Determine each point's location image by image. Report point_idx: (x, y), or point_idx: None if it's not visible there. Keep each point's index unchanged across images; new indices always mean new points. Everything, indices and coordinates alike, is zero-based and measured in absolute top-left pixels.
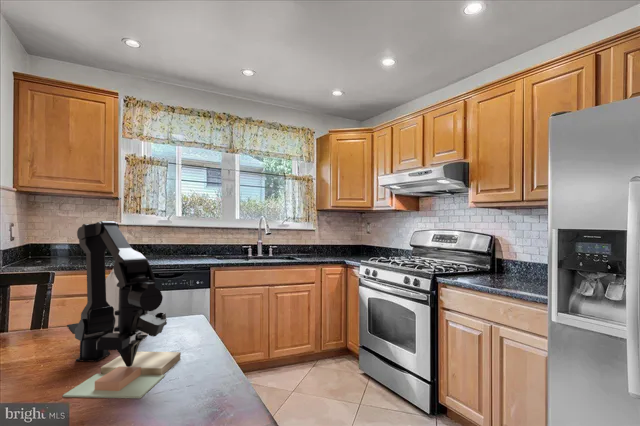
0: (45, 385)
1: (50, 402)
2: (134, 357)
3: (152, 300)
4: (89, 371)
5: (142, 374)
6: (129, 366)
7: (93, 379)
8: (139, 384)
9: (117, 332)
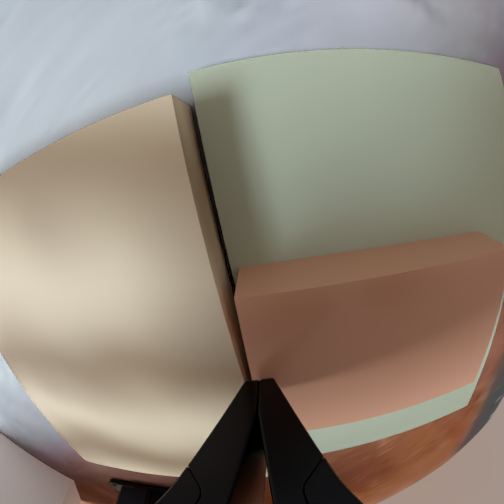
0: (370, 482)
1: (487, 394)
2: (225, 425)
3: None
4: None
5: (223, 262)
6: (273, 382)
7: (343, 436)
8: (396, 157)
9: (52, 495)
